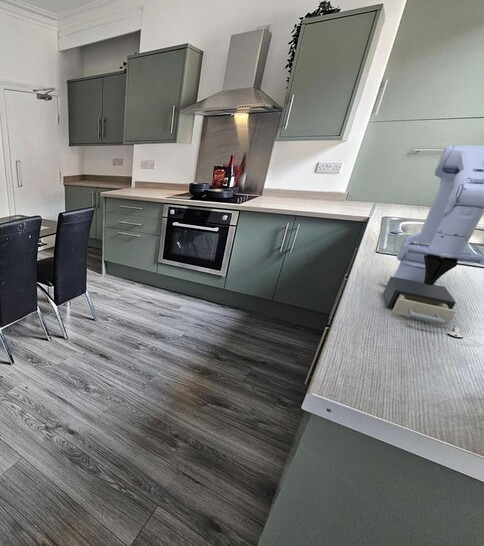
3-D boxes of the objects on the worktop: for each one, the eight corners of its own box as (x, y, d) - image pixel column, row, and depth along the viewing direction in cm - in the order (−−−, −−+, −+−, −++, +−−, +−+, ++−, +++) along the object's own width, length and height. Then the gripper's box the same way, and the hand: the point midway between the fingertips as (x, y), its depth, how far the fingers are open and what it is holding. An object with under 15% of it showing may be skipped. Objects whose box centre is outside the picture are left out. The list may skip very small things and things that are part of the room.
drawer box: (444, 322, 83) (456, 302, 81) (386, 308, 90) (395, 289, 88) (435, 305, 92) (445, 286, 90) (382, 293, 99) (390, 276, 97)
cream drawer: (452, 334, 76) (461, 320, 75) (394, 320, 82) (401, 306, 81) (438, 309, 88) (445, 295, 87) (388, 298, 94) (394, 285, 93)
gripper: (414, 232, 78) (391, 281, 83) (505, 243, 69) (474, 297, 75) (410, 226, 83) (389, 273, 88) (494, 236, 74) (466, 287, 80)
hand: (427, 283), depth 82 cm, fingers closed
